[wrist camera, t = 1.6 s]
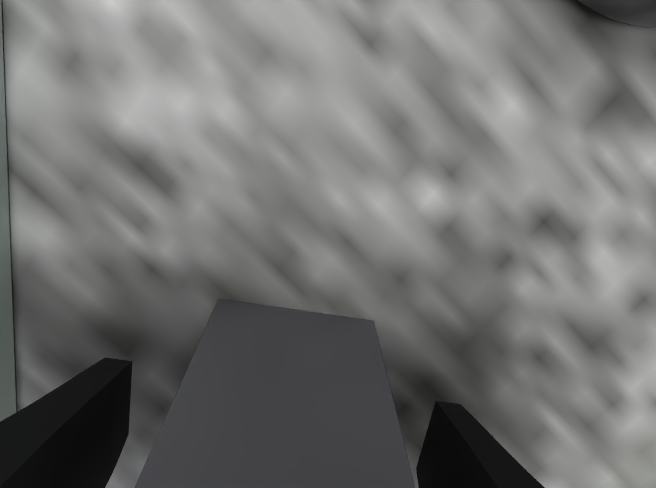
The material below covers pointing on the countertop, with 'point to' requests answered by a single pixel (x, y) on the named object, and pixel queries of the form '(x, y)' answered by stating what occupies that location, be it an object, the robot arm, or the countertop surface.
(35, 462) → the robot arm
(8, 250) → the outlet plate
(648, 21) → the supplement bottle
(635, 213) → the countertop surface
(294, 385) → the charger block
